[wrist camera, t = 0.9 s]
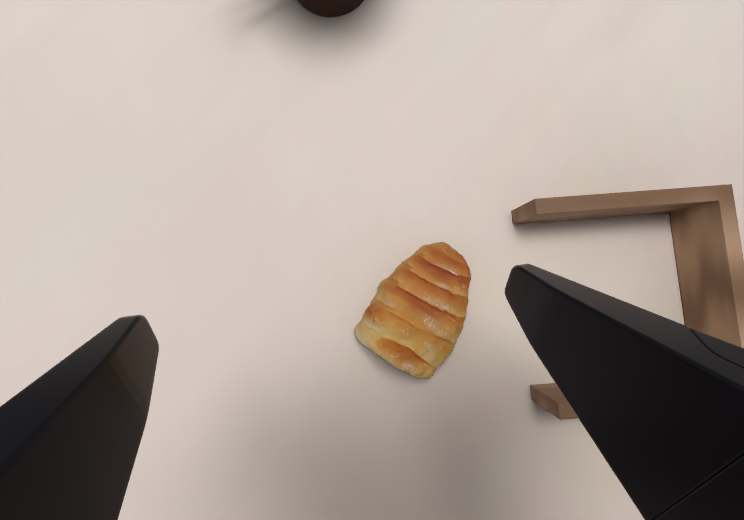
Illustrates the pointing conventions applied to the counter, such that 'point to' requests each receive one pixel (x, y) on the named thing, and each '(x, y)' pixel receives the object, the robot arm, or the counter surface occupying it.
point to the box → (692, 250)
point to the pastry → (418, 310)
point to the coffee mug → (330, 6)
